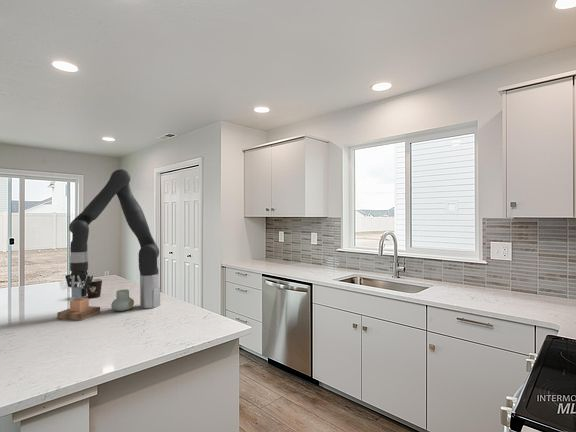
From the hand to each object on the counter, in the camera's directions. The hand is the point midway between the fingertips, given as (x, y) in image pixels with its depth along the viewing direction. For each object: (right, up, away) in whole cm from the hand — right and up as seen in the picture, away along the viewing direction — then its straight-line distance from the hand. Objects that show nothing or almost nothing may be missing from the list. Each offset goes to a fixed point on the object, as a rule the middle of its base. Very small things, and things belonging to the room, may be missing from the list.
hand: (79, 295), depth 160 cm
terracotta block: (0, -7, 0) cm, 7 cm away
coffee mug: (-16, -10, +36) cm, 41 cm away
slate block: (0, 0, 0) cm, 0 cm away
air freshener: (+16, -10, +10) cm, 22 cm away
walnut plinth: (0, -10, 0) cm, 10 cm away
